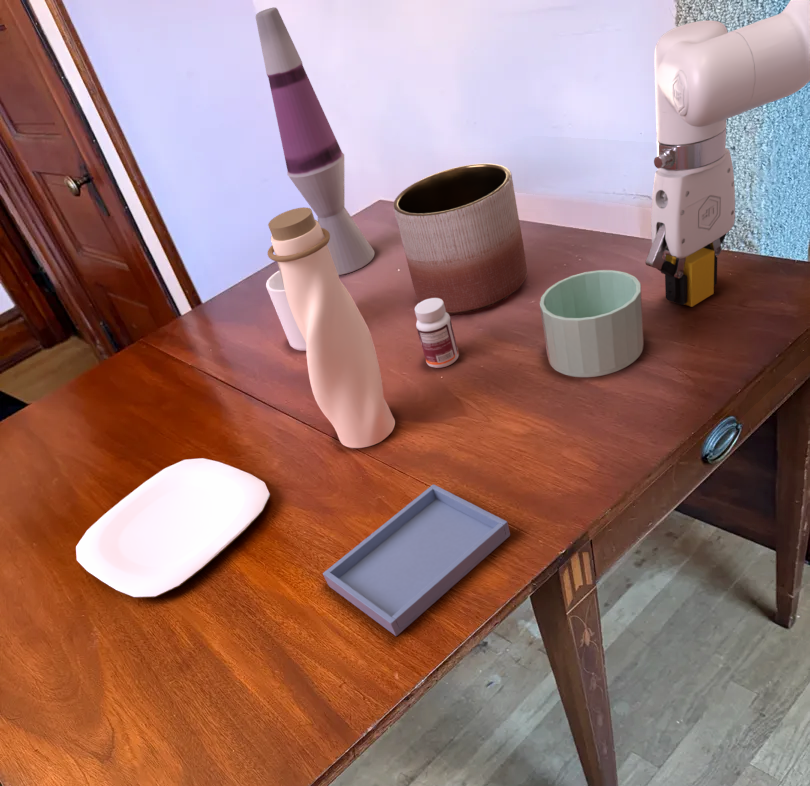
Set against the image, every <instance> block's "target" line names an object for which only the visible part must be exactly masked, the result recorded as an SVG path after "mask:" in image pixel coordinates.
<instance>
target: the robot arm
mask: <svg viewBox="0 0 810 786" xmlns="http://www.w3.org/2000/svg"><path fill="white" fill-rule="evenodd" d="M654 48H655V49H654V89H655V90H654V91H655V125H656V126H655V127H656V157H655V158H653V159H654V160H653V164H654V167H655V168H656V169H657V170H656V171H655V173H654V179H653V187H652V194H651V195H652V196H651V207H650V208H651V210H650V233H651V234H650V236H651V247H650V249H649V251H648V254H647V257H646V259H645V265H646V266H648V267H651V268H653V269H655V270H657V271H659V272H660V273H661V274H662V275H664V283H665V285H664V287H665V290H664V291H665V299H666V300H667V301H669V302H671V303H675V304H677V305H681V306H684V305H685V304H686V303H687V275H684V274H683V273H684V267H685V261H686V257H687V256H689V255H691V254H693V253H695V252H696V251H698V250H700V249H702V248H706V249H710V250H714V287H715V286H717V284H718V256H719V255H720V254H721V253H722V243H723V242H724V240H725V238H726V237H727V234H728V233H729V232H730V231H732V229H733V227H734V226H735V221H736V191H735V190H736V189H735V188H736V187H735V175H734V166H733V160H732V155H731V152H730V149H728V148H726V147H727V146H726V145H727V144H726V143H727V120H728V119H730V118H734V117H735V116H739V115H741V114H743V113H745V112H749V111H751V110H753V109H754V110H755V109H756V108H759V107H762V106H764V105H768V104H770V103H773V102H775V101H779V100H781V99H784V98H787V97H789V96H791V95H793V94H796V93H797V92H799V91H800V90H801V89H802V88H804V87H805V86H806V85H807V84H808V83H810V0H789V2H788V3H787V4H786V6H785V8H784V9H783V10H782V11H781V12H780V13H778V14H775V15H773V16H772V15H771V16H769V17H767V18H763V19H760V20H757V21H755V22H753V23H750V24H748V25H747V24H746V25H745V26H742V27H740V28H737V29H734V30H731V31H728V28H727V27H726V25H725V24H724V23H723V22H720V21H718V20H709V19H708V20H699V21H697V20H696V21H693V22H688V23H685V24H682V25H679V26H676V27H674V28H672V29H670V30H668V31H666V32H665V33H663V34H662V35H661V36H660V37H659V38H658V40H657V42H656V44H655V47H654ZM672 256H674V257H676V263H675V265H674V264H672V263H671V261H672Z"/></svg>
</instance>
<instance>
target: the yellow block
mask: <svg viewBox="0 0 810 786" xmlns="http://www.w3.org/2000/svg"><path fill="white" fill-rule="evenodd" d="M671 263H672V264H674V265H675V263H676V257H674V256H672V261H671ZM683 274H684V275H687V303H686V304H684V305H685V306H688V307H690V308H692V307H693V308H694V307H695V306H696V305H698V304H699V303H701V302H702V301H704V300H706V299H707V298H709V297H711V296H712V295H714V294H715V293H714V292H715V288H714V287H715V286H714V250H710V249H706V248H702V249H700V250H698V251H696V252H695V253H693V254H691V255H689V256H687V257H686V261H685V267H684V273H683Z"/></svg>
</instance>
